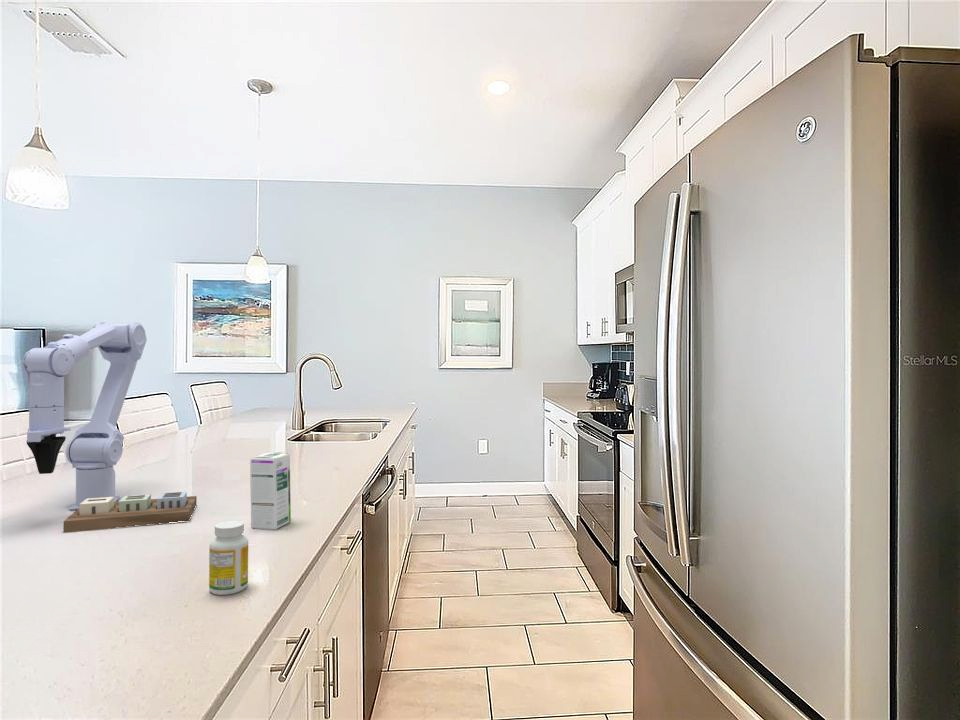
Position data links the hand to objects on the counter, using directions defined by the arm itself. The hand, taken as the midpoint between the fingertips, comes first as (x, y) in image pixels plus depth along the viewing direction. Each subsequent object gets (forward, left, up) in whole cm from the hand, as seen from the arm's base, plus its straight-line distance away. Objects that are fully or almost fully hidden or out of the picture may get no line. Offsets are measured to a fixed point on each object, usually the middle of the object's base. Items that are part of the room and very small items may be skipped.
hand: (46, 473), depth 119 cm
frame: (+1, +16, -10) cm, 19 cm away
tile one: (+1, +9, -10) cm, 13 cm away
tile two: (+1, +16, -10) cm, 19 cm away
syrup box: (+16, +43, -11) cm, 47 cm away
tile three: (+1, +23, -10) cm, 25 cm away
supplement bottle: (+48, +37, -11) cm, 61 cm away
